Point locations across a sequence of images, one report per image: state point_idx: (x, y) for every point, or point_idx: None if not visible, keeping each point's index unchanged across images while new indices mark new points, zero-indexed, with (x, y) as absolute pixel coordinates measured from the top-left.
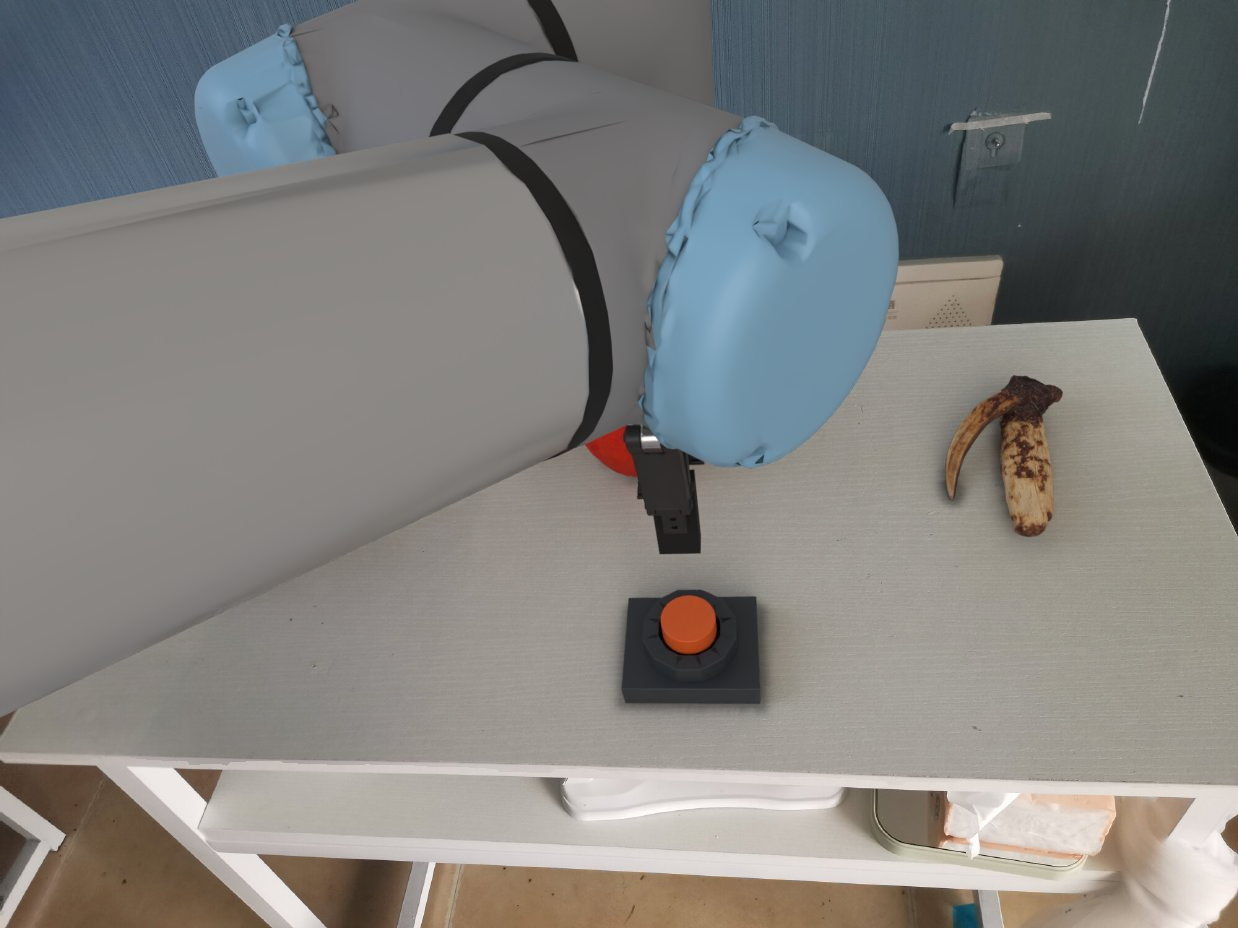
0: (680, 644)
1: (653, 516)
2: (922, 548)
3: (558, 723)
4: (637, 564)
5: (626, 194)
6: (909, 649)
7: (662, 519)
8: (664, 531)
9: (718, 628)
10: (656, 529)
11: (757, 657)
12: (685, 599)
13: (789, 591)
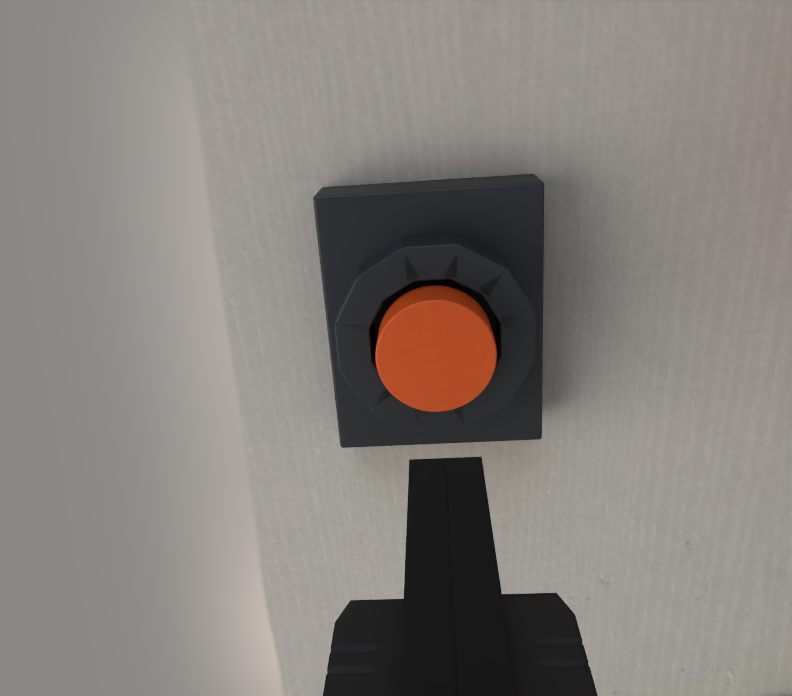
0: (377, 340)
1: (405, 587)
2: (655, 656)
3: (261, 50)
4: (667, 170)
5: None
6: None
7: (326, 682)
8: (338, 622)
9: None
10: (406, 540)
11: (404, 443)
12: (484, 349)
13: (577, 466)
